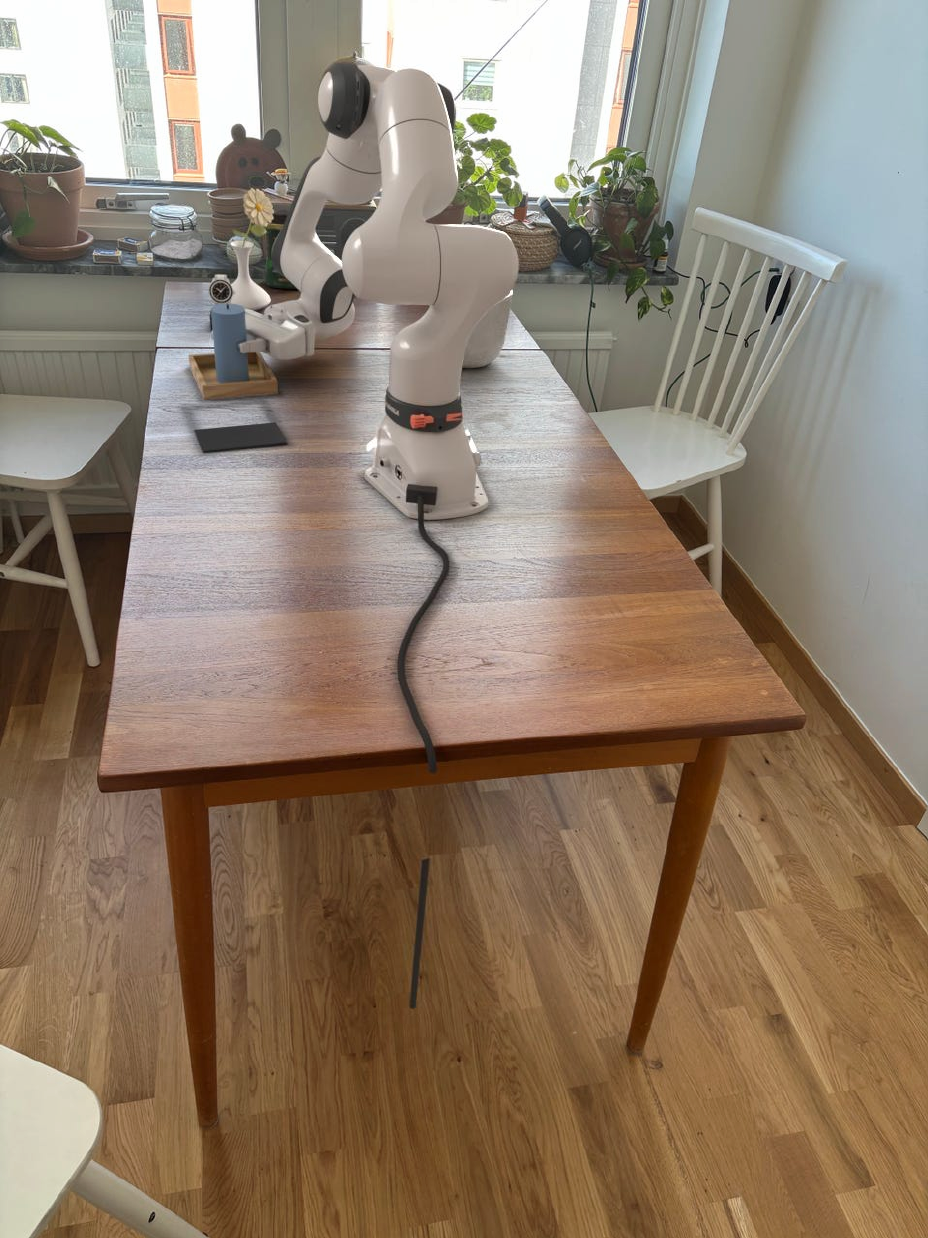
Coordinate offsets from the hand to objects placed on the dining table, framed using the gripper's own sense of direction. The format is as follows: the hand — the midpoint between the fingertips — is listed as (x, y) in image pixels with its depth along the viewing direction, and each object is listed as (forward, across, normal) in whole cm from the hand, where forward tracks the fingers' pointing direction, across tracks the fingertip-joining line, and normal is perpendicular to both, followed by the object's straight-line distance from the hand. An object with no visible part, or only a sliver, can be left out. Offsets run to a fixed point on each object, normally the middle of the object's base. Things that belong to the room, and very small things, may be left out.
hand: (226, 341), depth 172 cm
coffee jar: (-48, -39, +8) cm, 62 cm away
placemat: (+11, +15, +8) cm, 20 cm away
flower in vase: (-31, -32, +8) cm, 45 cm away
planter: (-45, +20, +8) cm, 50 cm away
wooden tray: (-1, 0, +8) cm, 8 cm away
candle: (-1, 0, +8) cm, 8 cm away
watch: (-18, -24, +8) cm, 31 cm away
